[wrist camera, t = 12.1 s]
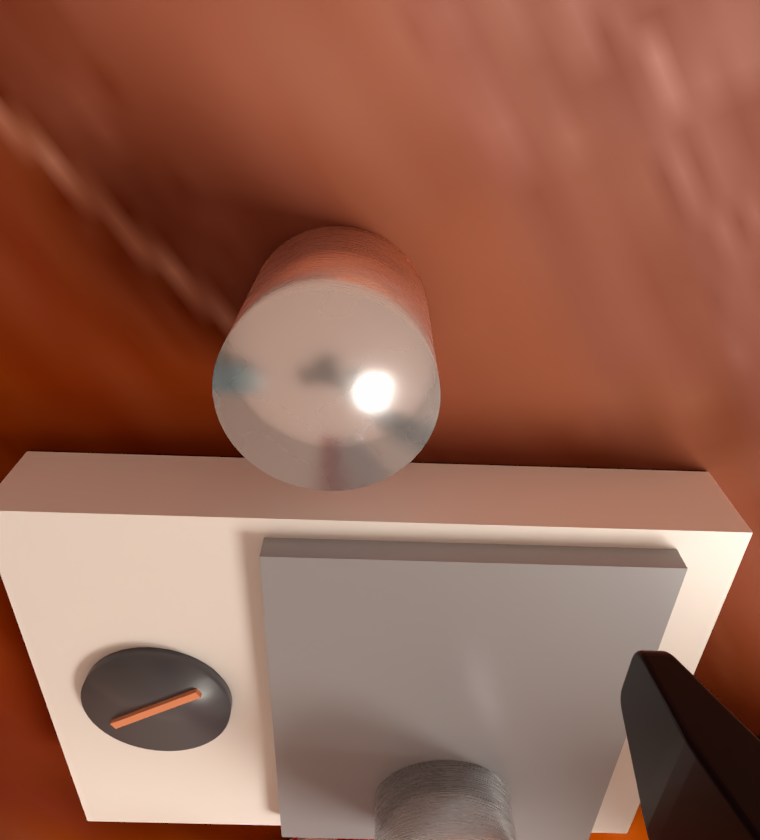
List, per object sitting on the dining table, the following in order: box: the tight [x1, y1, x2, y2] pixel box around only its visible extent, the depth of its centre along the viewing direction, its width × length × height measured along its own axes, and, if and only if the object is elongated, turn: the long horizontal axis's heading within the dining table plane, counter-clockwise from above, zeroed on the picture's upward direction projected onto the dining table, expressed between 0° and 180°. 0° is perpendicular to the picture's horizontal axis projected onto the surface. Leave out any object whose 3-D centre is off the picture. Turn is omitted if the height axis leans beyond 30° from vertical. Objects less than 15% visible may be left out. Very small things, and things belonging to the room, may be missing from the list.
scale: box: [0, 451, 753, 840], centre depth 24 cm, size 22×16×4 cm
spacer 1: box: [212, 226, 441, 491], centre depth 17 cm, size 5×5×5 cm
